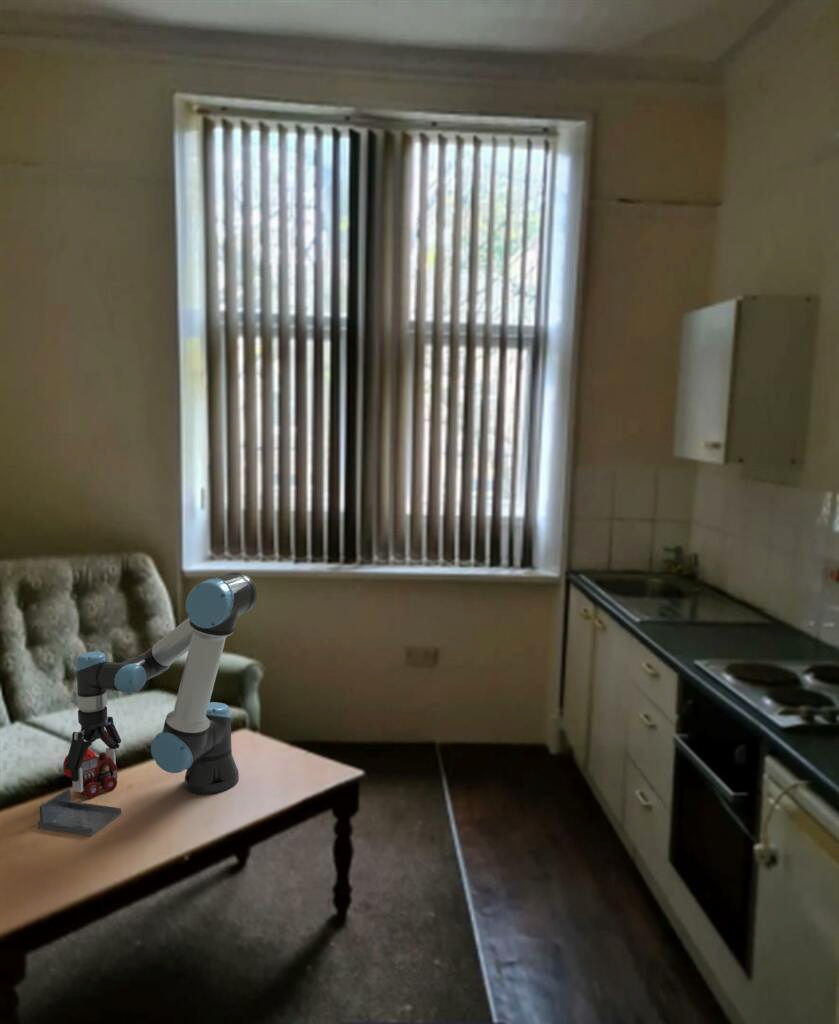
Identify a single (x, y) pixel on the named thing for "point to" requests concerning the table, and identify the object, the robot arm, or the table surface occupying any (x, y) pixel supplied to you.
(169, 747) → the robot arm
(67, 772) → the tomato
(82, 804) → the grey l-shaped tray
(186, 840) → the table surface
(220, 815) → the table surface
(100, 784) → the toy fire truck
